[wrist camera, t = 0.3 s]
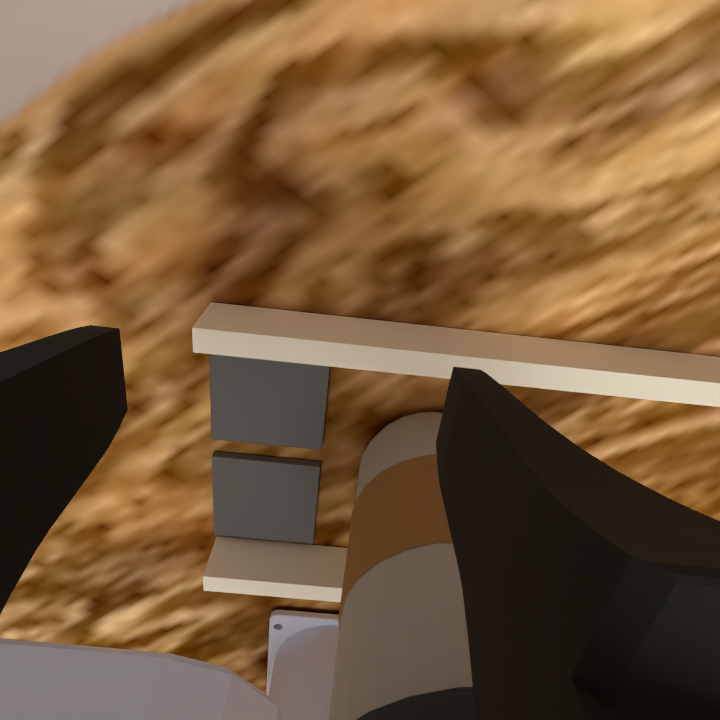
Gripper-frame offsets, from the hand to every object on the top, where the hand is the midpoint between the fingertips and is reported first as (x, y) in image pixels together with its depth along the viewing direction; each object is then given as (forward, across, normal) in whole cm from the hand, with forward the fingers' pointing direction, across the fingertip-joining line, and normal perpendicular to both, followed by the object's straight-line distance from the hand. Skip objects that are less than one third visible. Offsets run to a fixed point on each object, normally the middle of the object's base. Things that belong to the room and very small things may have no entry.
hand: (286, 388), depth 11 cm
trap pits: (+10, +2, +9) cm, 14 cm away
